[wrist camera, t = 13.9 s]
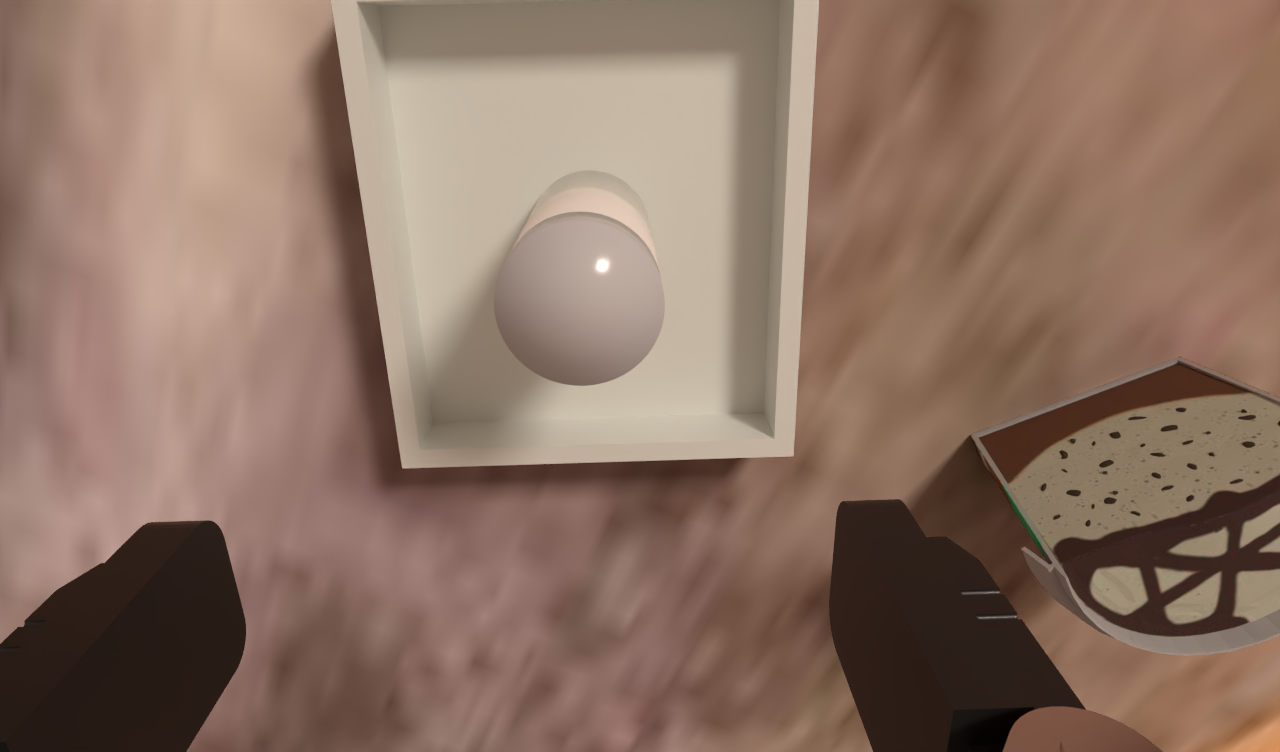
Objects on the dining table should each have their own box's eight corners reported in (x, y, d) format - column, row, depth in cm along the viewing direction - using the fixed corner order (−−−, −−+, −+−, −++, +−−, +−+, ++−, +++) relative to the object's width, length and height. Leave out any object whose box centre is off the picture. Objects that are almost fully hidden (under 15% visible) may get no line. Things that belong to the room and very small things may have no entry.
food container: (971, 552, 38) (1085, 712, 29) (937, 446, 36) (1049, 583, 26) (1232, 459, 36) (1442, 597, 27) (1214, 343, 34) (1436, 450, 25)
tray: (422, 430, 35) (402, 468, 32) (360, -17, 28) (327, -27, 25) (777, 419, 35) (793, 456, 32) (798, -27, 28) (821, -37, 25)
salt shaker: (534, 290, 32) (501, 388, 22) (526, 172, 30) (486, 224, 21) (651, 287, 32) (665, 383, 22) (648, 168, 30) (663, 219, 21)
